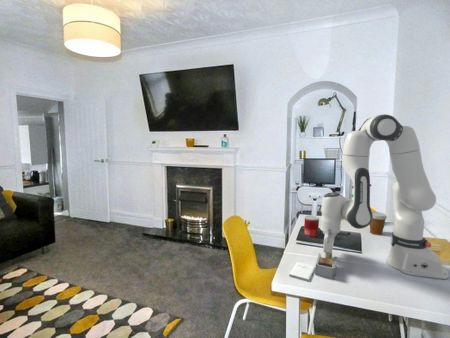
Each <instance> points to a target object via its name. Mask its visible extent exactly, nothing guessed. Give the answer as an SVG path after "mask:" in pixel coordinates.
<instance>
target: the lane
mask: <svg viewBox="0 0 450 338" xmlns="http://www.w3.org/2000/svg"><path fill="white" fill-rule="evenodd" d="M321 257H322V253H318V256H317V259H316V263H315V270H314V275H315V276H318V277H323V278H327V279H331V280H335V276H336V269H337V260H338V259H337V258H338V257H337V256H334V259H333V265H332V267H327V266H323V265H319V262H320V258H321Z"/></svg>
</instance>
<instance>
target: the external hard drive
mask: <svg viewBox="0 0 450 338" xmlns="http://www.w3.org/2000/svg"><path fill="white" fill-rule="evenodd" d="M315 267H316V265H311V264H306V263H303V262H299V261H297V262H296V263H295V265H294V266H293V268H292V270H290V273H289V277H290V278H295V279H298V280H301V281H304V282H310V280H311V278H312V275H313V274H314V273H315Z"/></svg>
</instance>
